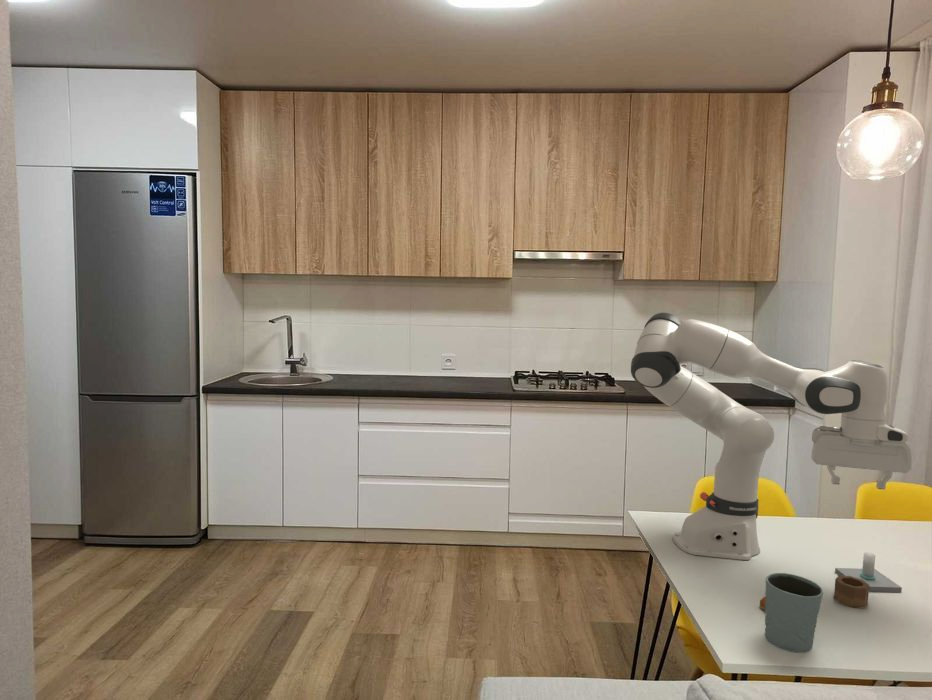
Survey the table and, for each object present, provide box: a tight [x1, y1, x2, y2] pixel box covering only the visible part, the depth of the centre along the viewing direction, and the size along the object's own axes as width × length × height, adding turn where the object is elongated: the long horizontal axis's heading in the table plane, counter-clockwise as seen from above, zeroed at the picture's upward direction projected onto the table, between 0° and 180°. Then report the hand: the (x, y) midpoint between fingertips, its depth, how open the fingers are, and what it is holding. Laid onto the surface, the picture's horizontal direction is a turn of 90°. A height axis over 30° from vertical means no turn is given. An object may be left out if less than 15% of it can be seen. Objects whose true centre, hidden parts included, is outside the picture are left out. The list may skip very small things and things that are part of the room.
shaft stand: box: [834, 552, 903, 593], centre depth 155 cm, size 10×10×7 cm
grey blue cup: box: [764, 572, 824, 654], centre depth 127 cm, size 10×10×12 cm
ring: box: [833, 575, 870, 609], centre depth 145 cm, size 6×6×4 cm
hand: (857, 486), depth 151 cm, fingers open, 8 cm apart
